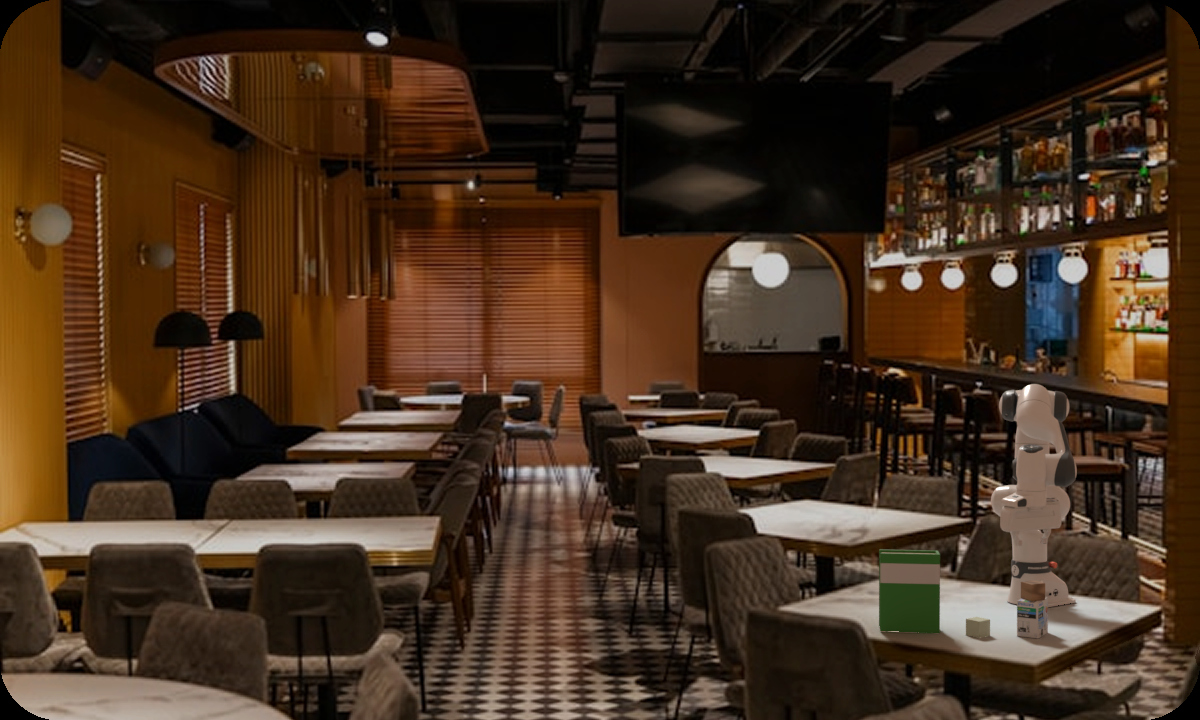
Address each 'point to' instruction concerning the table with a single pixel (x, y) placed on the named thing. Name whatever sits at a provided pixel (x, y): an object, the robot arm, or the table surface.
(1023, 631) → the light bulb box
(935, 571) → the green upright box
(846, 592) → the table surface
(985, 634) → the sage cube
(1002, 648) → the table surface
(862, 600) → the table surface
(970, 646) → the table surface
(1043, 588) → the walnut cube
